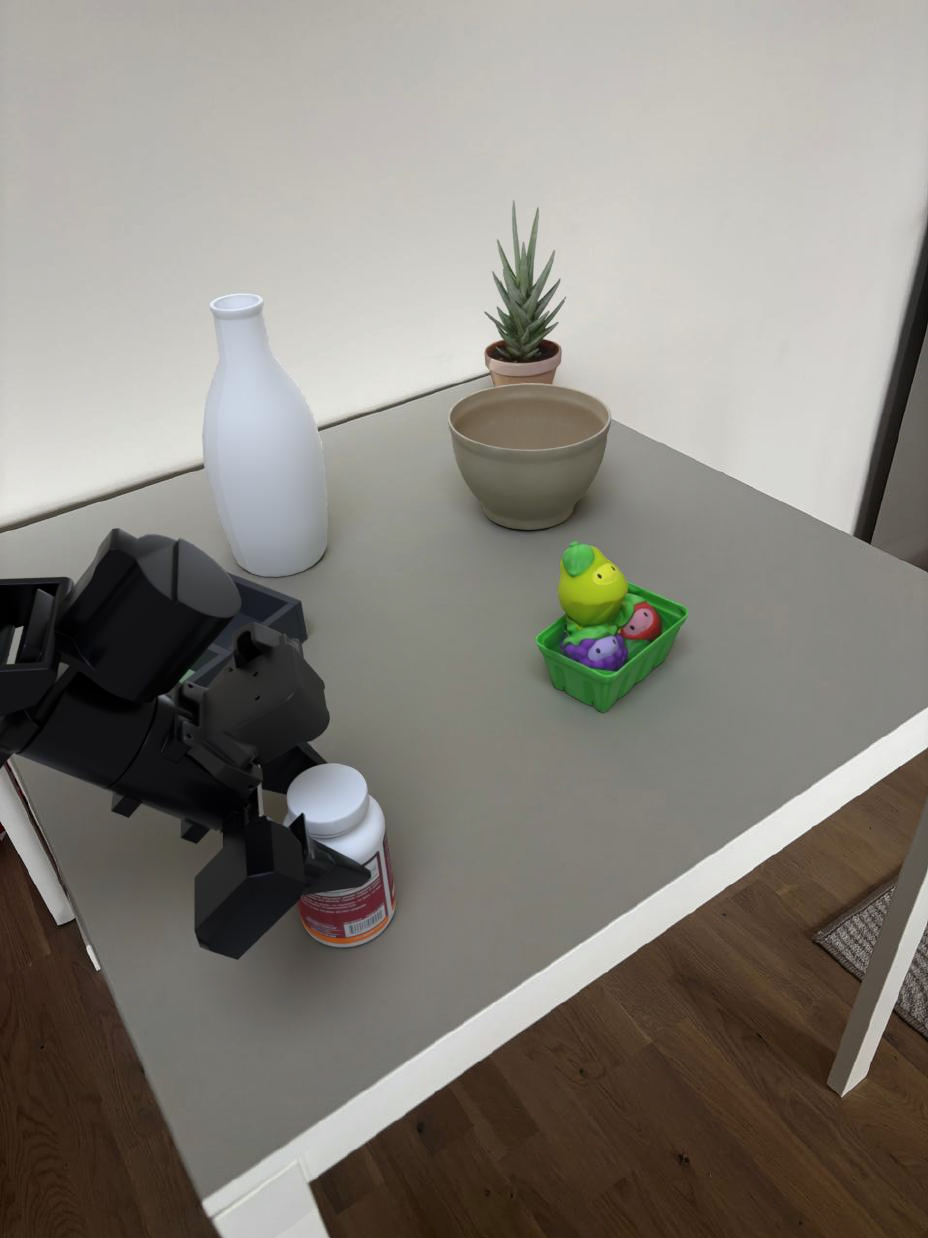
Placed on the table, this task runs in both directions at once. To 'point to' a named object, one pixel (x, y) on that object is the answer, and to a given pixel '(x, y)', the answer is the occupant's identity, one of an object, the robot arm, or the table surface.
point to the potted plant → (523, 320)
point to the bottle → (262, 449)
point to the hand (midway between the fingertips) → (359, 838)
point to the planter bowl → (529, 450)
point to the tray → (255, 607)
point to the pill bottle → (356, 832)
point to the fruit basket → (605, 630)
